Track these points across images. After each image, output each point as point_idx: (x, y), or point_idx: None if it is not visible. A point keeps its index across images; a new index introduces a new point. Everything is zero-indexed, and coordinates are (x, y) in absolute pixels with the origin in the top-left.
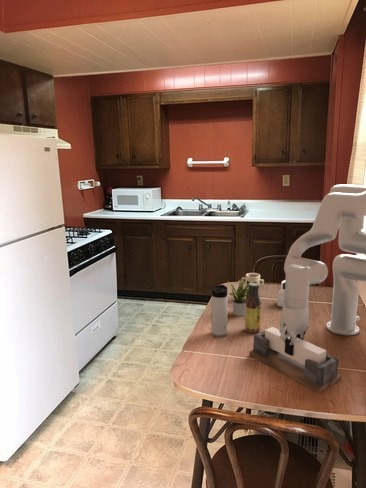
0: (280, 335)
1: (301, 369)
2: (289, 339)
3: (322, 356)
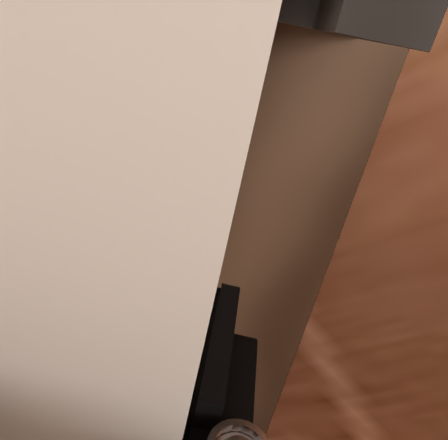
0: None
1: None
2: (7, 408)
3: None
